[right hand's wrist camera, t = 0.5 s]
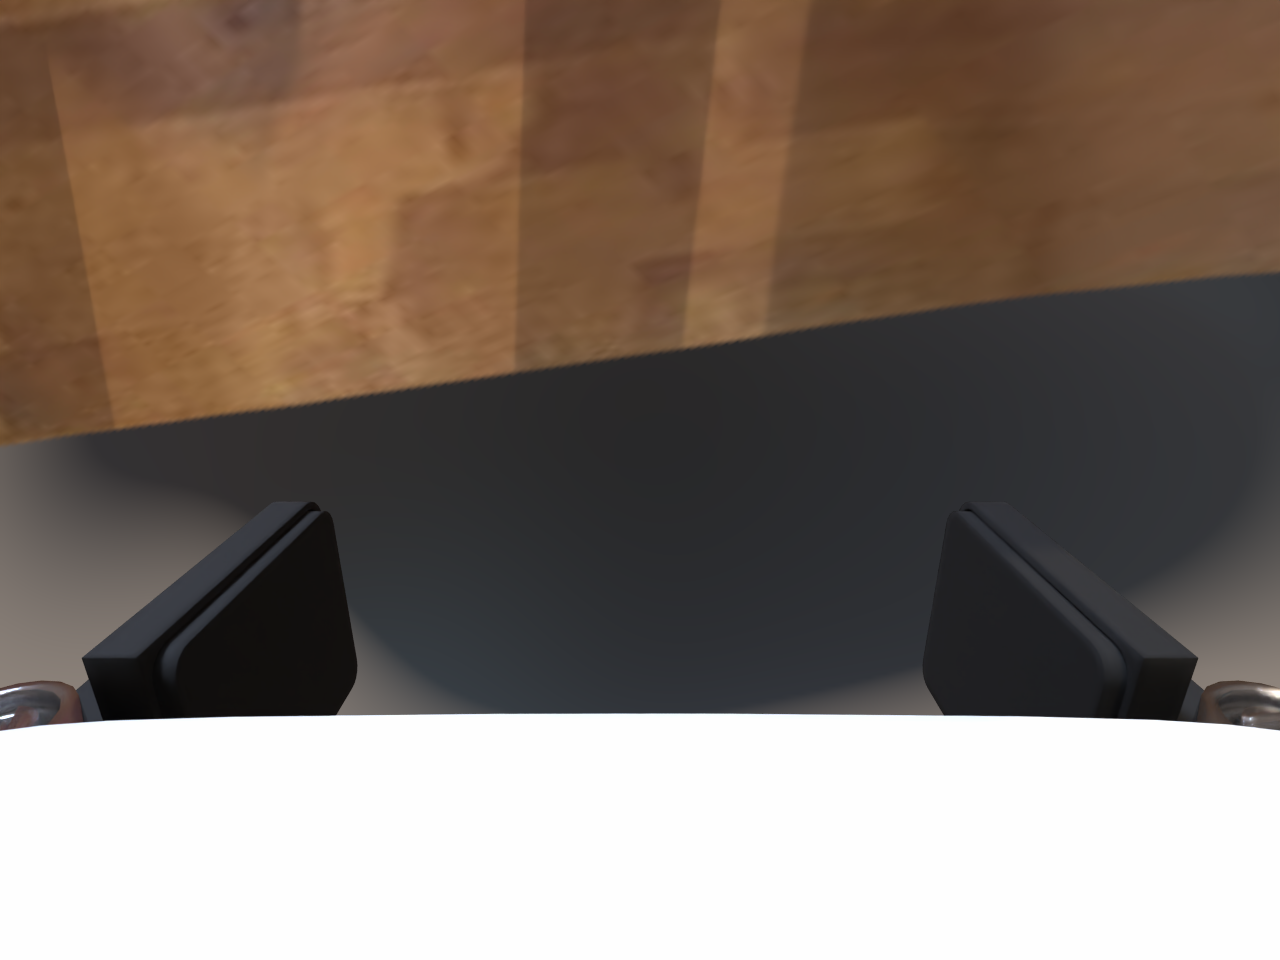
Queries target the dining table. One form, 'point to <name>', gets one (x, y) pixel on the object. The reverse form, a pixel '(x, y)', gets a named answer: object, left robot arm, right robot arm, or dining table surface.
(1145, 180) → the dining table surface
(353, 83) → the dining table surface
